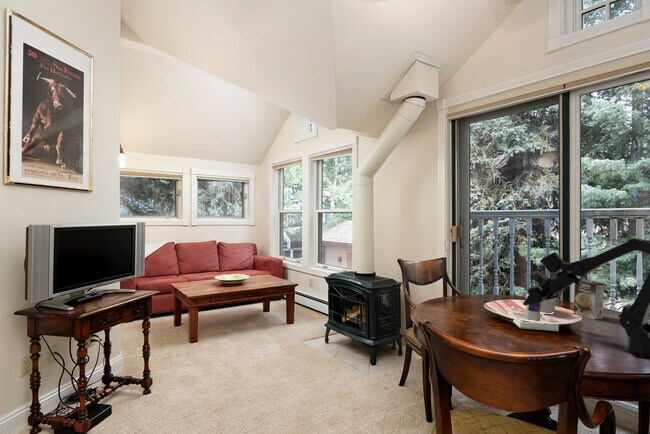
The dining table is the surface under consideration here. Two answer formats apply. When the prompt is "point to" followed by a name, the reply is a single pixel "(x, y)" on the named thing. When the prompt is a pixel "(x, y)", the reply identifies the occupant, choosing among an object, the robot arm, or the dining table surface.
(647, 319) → the robot arm
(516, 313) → the tray
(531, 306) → the energy drink
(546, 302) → the lumpy-topped squat cylinder
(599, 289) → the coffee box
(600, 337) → the dining table surface
